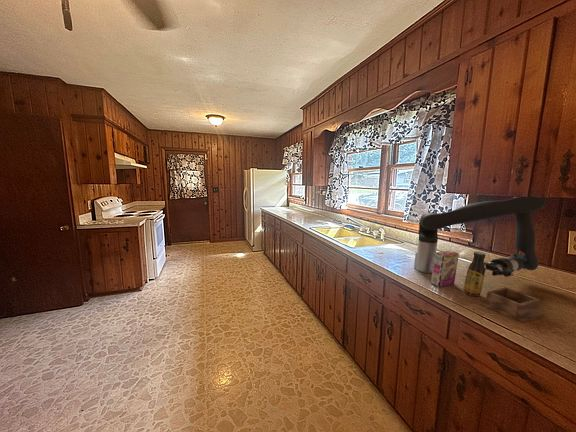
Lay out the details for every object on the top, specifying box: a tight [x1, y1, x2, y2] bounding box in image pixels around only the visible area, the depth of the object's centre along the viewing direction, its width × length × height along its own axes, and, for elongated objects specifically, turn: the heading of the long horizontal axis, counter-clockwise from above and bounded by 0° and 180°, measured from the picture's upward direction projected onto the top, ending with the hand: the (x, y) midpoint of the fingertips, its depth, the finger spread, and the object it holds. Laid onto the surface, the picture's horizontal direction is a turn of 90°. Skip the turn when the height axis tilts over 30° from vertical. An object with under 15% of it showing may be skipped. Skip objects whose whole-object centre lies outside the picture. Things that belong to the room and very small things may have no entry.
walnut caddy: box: [480, 286, 544, 324], centre depth 96 cm, size 14×14×6 cm
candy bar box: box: [430, 250, 460, 288], centre depth 118 cm, size 11×5×16 cm, turn 111°
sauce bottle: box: [463, 251, 487, 297], centre depth 108 cm, size 6×6×20 cm
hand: (482, 269), depth 109 cm, fingers open, 8 cm apart
